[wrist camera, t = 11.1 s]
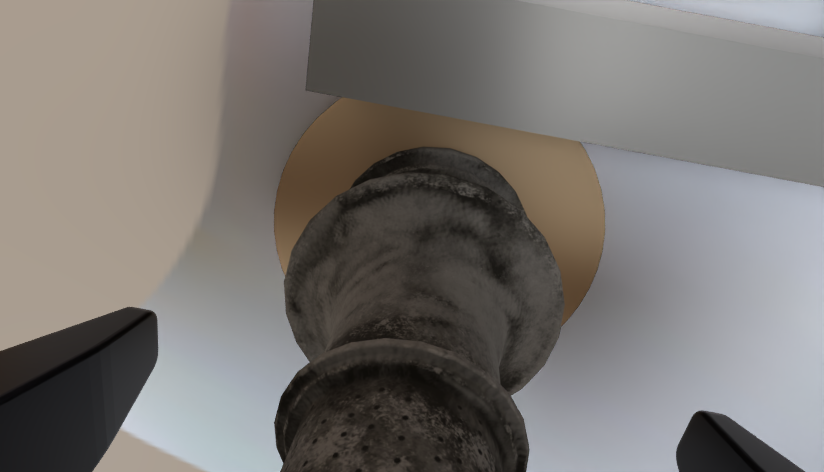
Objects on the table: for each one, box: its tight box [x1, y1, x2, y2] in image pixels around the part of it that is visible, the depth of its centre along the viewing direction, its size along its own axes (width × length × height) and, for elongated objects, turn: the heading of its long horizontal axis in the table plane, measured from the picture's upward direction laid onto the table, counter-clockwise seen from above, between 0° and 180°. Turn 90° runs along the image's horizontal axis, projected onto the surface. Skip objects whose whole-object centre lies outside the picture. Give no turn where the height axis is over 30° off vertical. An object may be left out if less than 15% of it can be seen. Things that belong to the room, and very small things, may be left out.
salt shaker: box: [274, 147, 565, 472], centre depth 9 cm, size 6×6×12 cm
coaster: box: [274, 97, 605, 326], centre depth 14 cm, size 9×9×1 cm
